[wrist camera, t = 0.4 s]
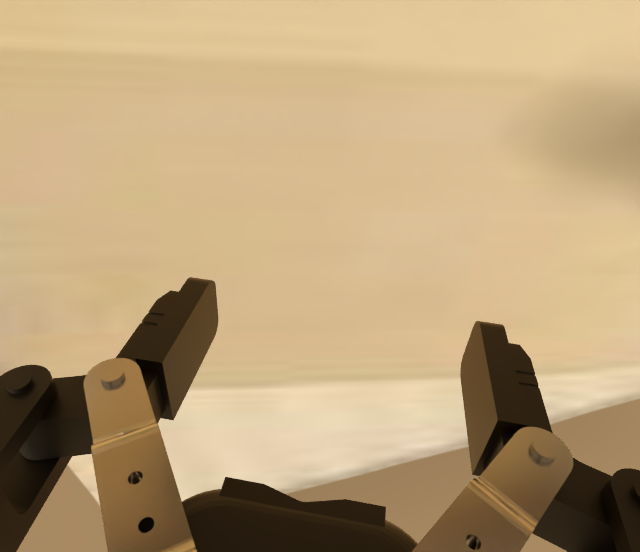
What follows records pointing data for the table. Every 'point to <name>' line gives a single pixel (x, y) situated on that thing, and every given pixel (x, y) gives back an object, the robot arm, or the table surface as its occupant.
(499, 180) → the table surface
